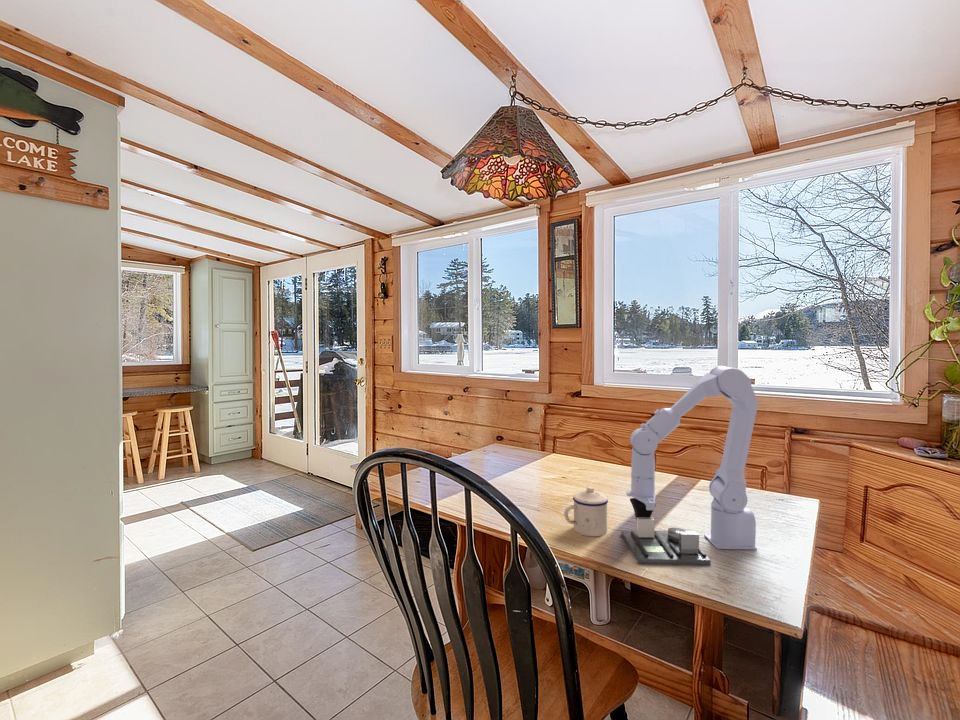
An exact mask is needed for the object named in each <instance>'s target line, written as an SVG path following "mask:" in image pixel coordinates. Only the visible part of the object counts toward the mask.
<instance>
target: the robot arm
mask: <svg viewBox="0 0 960 720" xmlns="http://www.w3.org/2000/svg"><path fill="white" fill-rule="evenodd" d="M755 393H756V392H755V391H754V389H753V386H752V380H751V379H750V377H749V376H748V375H747V374H745V372H743V370H741V369H739V368H736V367H729V366H725V365H718V366H715V367H713V368H712V369H711V370H710V371H709V373H708V372H707V373H706V374H704V375H703V376H701V378H700V379H699V380H698V381H697V382H696V383H695V384H693V386H692V387H690V388H689V389H688V391H686V392H685V393H684V395H682V396H681V397H680V398H679V399H678V400H677V401H675V402H674V404H673V405H672V406H671V407H662V408H660V410H659V409H656V410H655V411H653V413H654V415H653V416H652V417H651V418H650V419H649V420H647V421H646V422H645V423H640V428H636V429H634V430H633V432H632V433H631V434H630V437H629V442H630V444H631V446H632V447H631V448H632V449H631V458H630V459H631V467H630V469H631V470H630V475H631V476H630V490H629V491H628V490H627V491H626V494H625V495H626V496H627V497H630V498H629V501H630V503H631V506H632V509H633V512H634V516H635V521H636V523H637V517H647V518H652V514H653V512H654V511H656V507H657V504H656V502H655V501H656V491H655V490H656V489H655V485H656V484H655V479H656V478H655V477H656V475H655V474H656V472H655V471H656V462H655V461H656V459H655V452H656V451H657V448H658V447H659V443H660V442H662V441H663V440H665V438H667V436H669V435H670V434H671V433H672V432H673V431H675V430H676V429H677V428H678V427H679V426H680V425H681V418H682V417H683V416H684V415H685V414H687V413H688V412H689V411H690V410H692V409H693V408H694V407H695V406H697V405H699V403H701V402H702V401H703V400H705V399H706V398H710V397H716V396H719V397H720V396H721V395H723V396H724V397H725V398H726V399H727V401H728V402H729V403H730V404H731V406H732V409H731V412H730V413H731V414H730V419H729V423H728V426H727V427H728V428H727V433H726V439H725V443H724V446H723V454H722V459H721V463H720V466H719V467H718V469H716V471H715V475H714V477H713V478H712V479H711V480H710V482H709V485H708V491H709V494H710V495H711V496H712V497H713V499H712V501H711V505H710V533H704V534H703V536H704V537H705V538H706V539H707V540H708V542H710V543H711V544H712V545H713V547H715V548H716V549H719V550H757V549H758V547H757V546H756V536H757V535H756V533H757V532H756V530H757V523H756V518H755V517H756V516H755V514H754V512H753V511H752V509H751V508H748V507H747V505H748V500H749V499H748V496H747V493H746V489H747V481H746V478H745V469H746V465H747V458H748V455H749V450H750V446H751V440H752V435H753V432H754V431H753V430H754V425H755V421H756V415H757V411H758V406H759V401H758V398H757V395H756V394H755Z"/></svg>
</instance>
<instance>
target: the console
mask: <svg viewBox="0 0 960 720" xmlns="http://www.w3.org/2000/svg"><path fill="white" fill-rule="evenodd" d="M620 532H621V534H620V535H621V537H622V539H624V542H625V543H626V545H627V547H628V548H629V551H630V552H631V554H632V555H633V557H634V559H635V560H636V563H637V564H638V565H668V566H670V565H671V566H678V565H679V566H711V559H710V558H709V556H707V554H706V553H705V551H703V549H701V547H700V534H699V533H698V532H697V531H687V530H686V529H684V528H680V527H669V528H667V530H654V537H638V536H637V529H636V530H635V529H621V531H620Z"/></svg>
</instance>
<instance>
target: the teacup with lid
mask: <svg viewBox="0 0 960 720" xmlns="http://www.w3.org/2000/svg"><path fill="white" fill-rule="evenodd" d="M572 500H573V504H571V505H569V506H566V508H565V509H564V512H563V516H564V518H565V520H566V522H567V523H569V524H571V525H573V530H574V531H575V532H576V533H577V534H579V535H581V536H586V537H594V538H595V537H601V536H604V535H605V534H607V531H608V502H609V500H608V496H606V495H605V494H603V493H601V492H599V491H597V490H595V488H594V487H593V486H587V487H586V489H585V490H582V491H579V492H575V493H574V495H573V496H572ZM570 510H573V520H571V519H569V511H570Z"/></svg>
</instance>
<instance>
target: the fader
mask: <svg viewBox="0 0 960 720" xmlns="http://www.w3.org/2000/svg"><path fill="white" fill-rule="evenodd" d="M655 523H656V522H655V519H654V517H650V518H647V517H637V522H636V530H637V536H638V537H654V531H655V528H656V527H655Z"/></svg>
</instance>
